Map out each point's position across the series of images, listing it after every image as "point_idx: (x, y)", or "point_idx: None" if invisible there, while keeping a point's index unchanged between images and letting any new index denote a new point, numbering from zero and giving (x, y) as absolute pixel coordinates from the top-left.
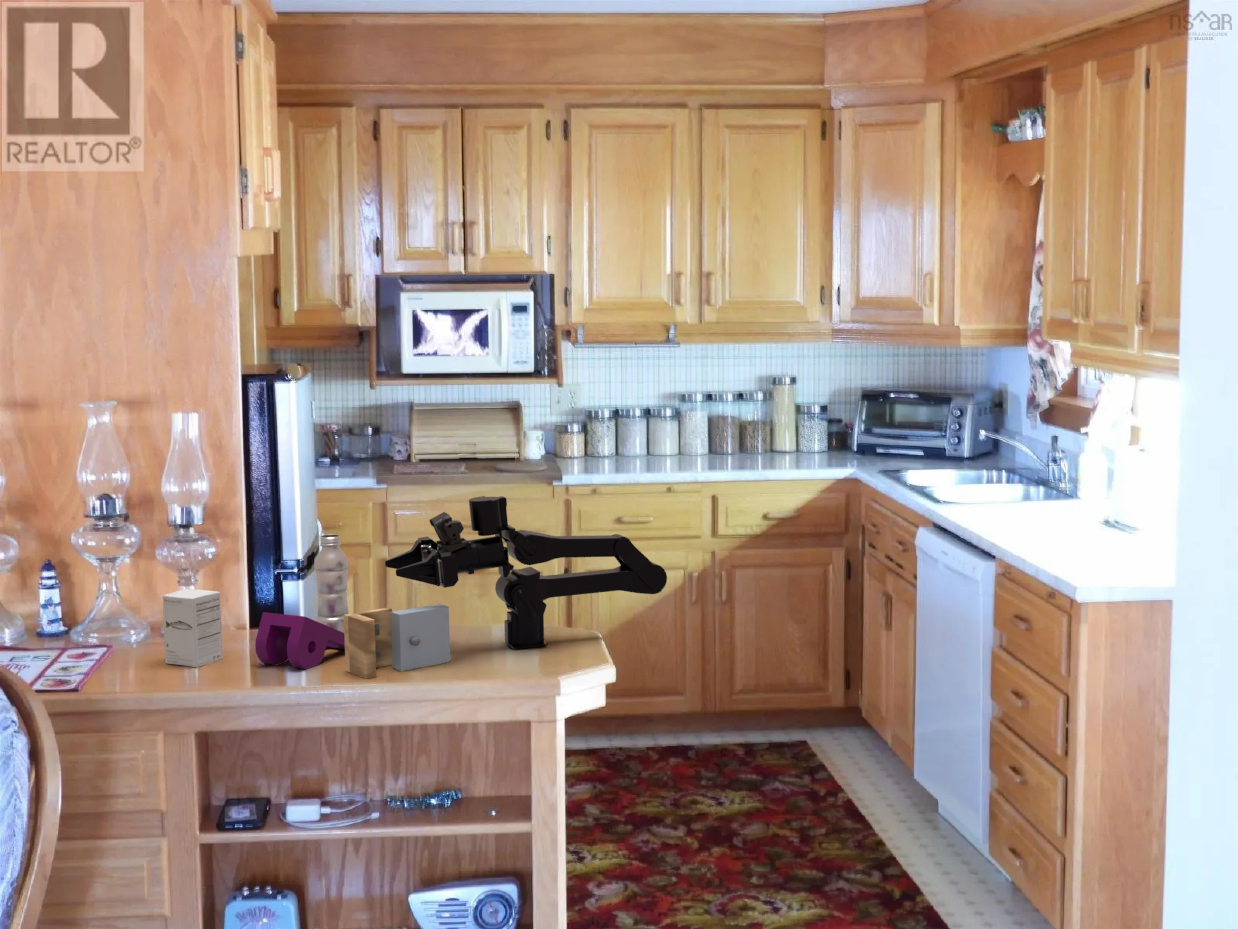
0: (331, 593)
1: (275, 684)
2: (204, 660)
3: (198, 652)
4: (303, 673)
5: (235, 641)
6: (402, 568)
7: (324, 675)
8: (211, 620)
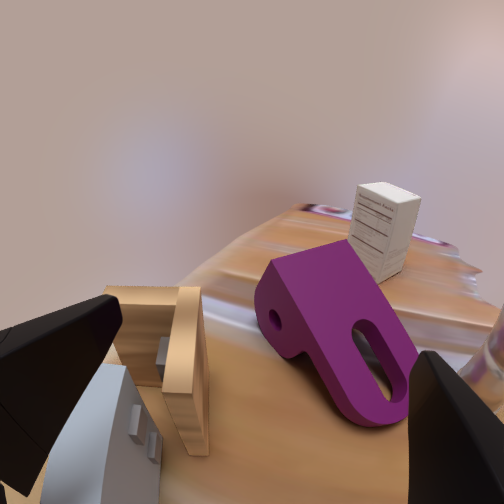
0: (489, 345)
1: (211, 287)
2: None
3: None
4: (242, 325)
5: (459, 310)
6: (78, 304)
7: (208, 340)
8: (374, 228)
